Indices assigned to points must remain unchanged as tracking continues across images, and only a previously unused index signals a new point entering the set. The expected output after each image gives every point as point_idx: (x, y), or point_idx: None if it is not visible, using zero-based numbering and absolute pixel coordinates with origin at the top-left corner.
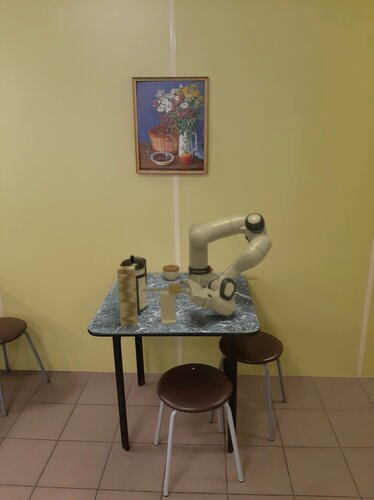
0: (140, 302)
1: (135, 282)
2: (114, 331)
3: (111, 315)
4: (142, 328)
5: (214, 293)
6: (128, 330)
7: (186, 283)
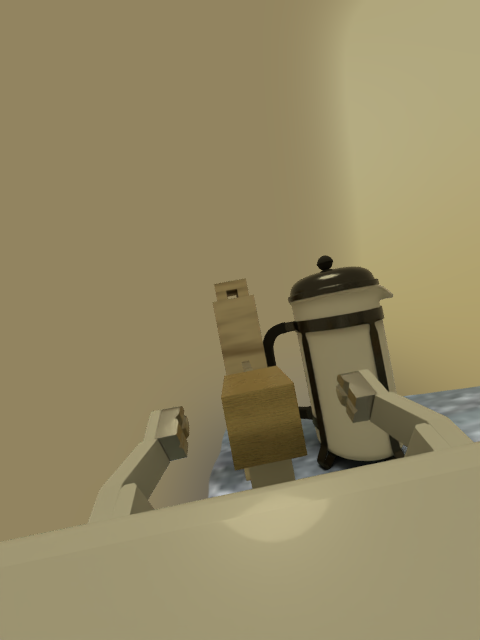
0: (329, 425)
1: (225, 329)
2: (221, 447)
3: (303, 423)
4: None
5: None
6: (219, 468)
7: (412, 439)
